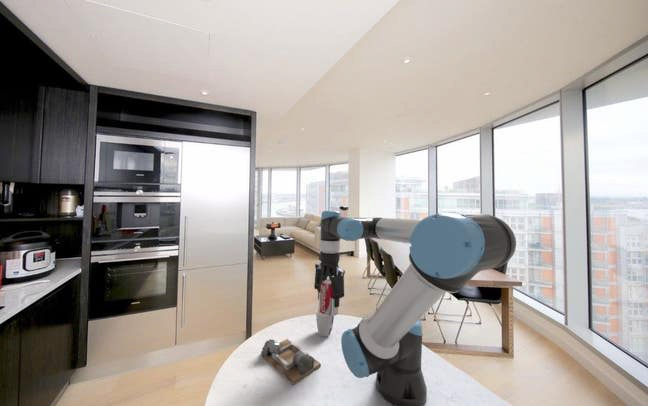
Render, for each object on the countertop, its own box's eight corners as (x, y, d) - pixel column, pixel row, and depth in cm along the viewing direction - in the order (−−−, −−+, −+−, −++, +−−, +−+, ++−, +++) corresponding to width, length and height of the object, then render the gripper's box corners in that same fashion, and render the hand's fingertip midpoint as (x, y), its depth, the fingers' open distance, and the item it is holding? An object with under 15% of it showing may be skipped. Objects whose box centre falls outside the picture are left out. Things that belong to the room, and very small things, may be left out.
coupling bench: (320, 366, 81) (321, 352, 81) (293, 384, 73) (294, 368, 73) (287, 341, 96) (287, 329, 96) (261, 354, 87) (261, 340, 87)
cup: (333, 339, 99) (334, 315, 99) (314, 338, 99) (315, 315, 99) (333, 329, 107) (334, 307, 107) (315, 328, 107) (316, 306, 107)
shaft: (282, 350, 88) (283, 339, 88) (276, 359, 83) (276, 348, 83) (269, 347, 90) (269, 337, 90) (262, 356, 84) (262, 345, 84)
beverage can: (334, 317, 84) (335, 284, 84) (318, 315, 85) (319, 283, 86) (337, 310, 90) (338, 279, 90) (321, 308, 92) (322, 278, 92)
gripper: (355, 254, 84) (354, 317, 84) (319, 246, 98) (317, 301, 97) (342, 257, 79) (340, 324, 78) (306, 248, 92) (304, 306, 92)
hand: (328, 311), depth 88 cm, fingers closed on beverage can, 6 cm apart
